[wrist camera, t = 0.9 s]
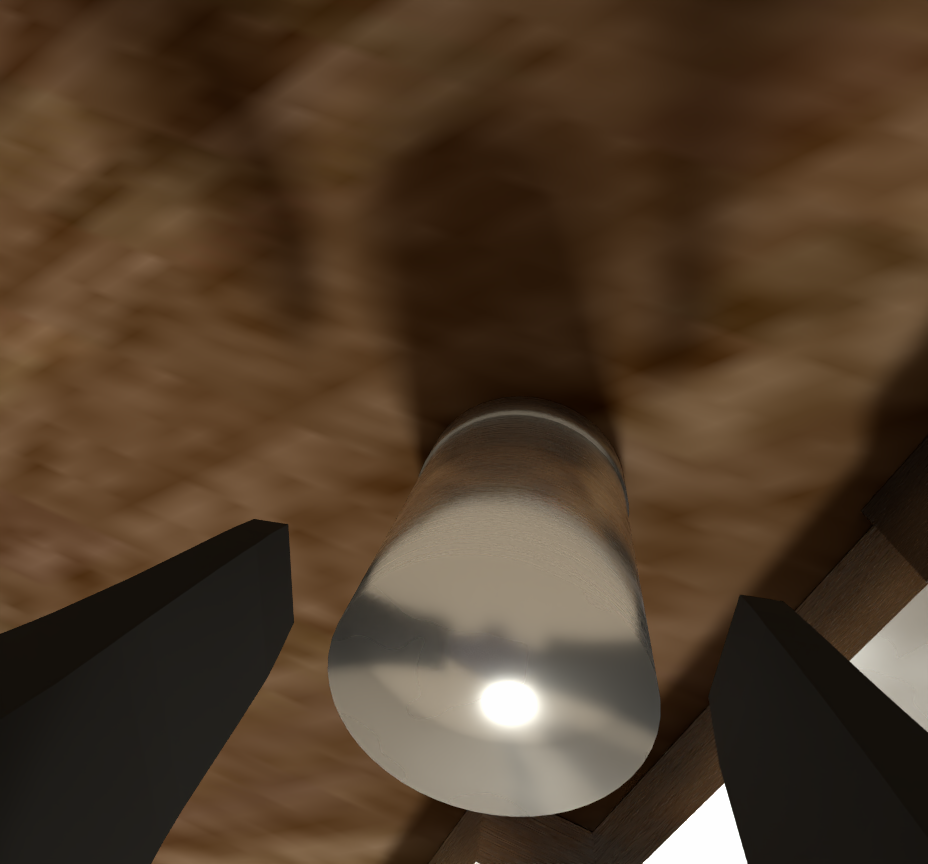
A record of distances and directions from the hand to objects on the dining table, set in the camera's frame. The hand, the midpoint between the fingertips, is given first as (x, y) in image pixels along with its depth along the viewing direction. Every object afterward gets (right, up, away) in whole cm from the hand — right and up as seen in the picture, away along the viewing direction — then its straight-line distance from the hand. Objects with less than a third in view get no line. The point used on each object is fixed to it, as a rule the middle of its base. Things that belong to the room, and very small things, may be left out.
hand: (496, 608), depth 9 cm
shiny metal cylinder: (+1, +2, +4) cm, 4 cm away
